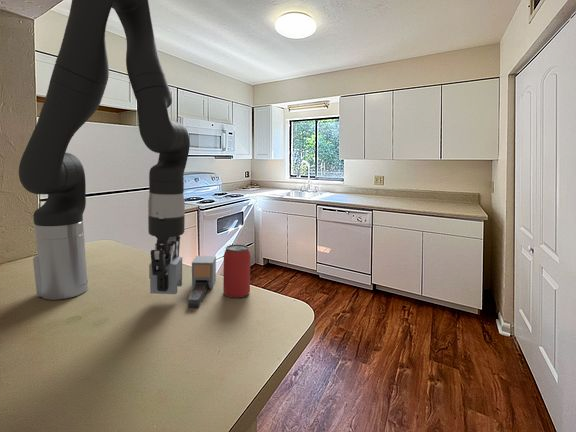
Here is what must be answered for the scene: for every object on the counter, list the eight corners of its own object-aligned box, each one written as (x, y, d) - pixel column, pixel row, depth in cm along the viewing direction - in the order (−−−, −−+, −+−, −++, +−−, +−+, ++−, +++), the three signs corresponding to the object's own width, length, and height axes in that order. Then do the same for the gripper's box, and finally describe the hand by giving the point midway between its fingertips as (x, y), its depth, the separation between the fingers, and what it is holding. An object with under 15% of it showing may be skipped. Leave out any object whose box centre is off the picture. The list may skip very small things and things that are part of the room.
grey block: (176, 294, 71) (176, 264, 70) (148, 293, 70) (148, 263, 69) (182, 285, 76) (182, 257, 75) (156, 284, 75) (156, 255, 74)
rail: (187, 307, 71) (187, 299, 71) (201, 280, 87) (201, 273, 86) (198, 307, 71) (198, 299, 71) (210, 280, 87) (210, 273, 87)
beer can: (244, 300, 76) (245, 252, 74) (219, 297, 77) (219, 249, 75) (253, 289, 82) (254, 245, 80) (229, 286, 84) (229, 242, 81)
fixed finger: (191, 289, 81) (191, 263, 80) (196, 280, 87) (196, 255, 86) (212, 289, 82) (212, 263, 80) (215, 280, 87) (215, 256, 86)
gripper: (159, 207, 77) (160, 273, 80) (136, 218, 63) (137, 298, 66) (191, 208, 77) (190, 274, 80) (175, 220, 63) (174, 299, 66)
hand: (166, 285), depth 73 cm, fingers closed on grey block, 5 cm apart
